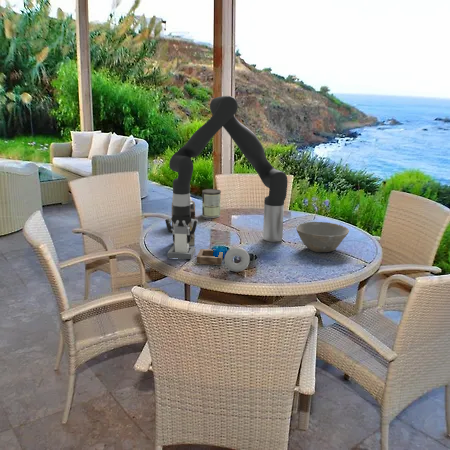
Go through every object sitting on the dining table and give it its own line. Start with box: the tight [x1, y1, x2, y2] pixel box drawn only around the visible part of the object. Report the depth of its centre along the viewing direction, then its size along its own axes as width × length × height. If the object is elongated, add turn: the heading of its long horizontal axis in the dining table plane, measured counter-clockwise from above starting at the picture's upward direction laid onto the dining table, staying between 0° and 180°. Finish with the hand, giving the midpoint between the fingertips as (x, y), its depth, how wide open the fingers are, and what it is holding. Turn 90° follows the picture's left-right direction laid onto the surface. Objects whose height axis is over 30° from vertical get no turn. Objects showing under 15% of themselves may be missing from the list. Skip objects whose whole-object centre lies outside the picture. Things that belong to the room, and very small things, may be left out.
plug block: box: [174, 226, 189, 253], centre depth 211 cm, size 5×5×12 cm
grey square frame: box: [167, 245, 196, 260], centre depth 212 cm, size 10×10×2 cm
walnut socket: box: [196, 248, 224, 266], centre depth 207 cm, size 10×10×3 cm
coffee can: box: [201, 188, 222, 219], centre depth 275 cm, size 10×10×14 cm
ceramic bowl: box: [296, 221, 350, 253], centre depth 222 cm, size 22×23×10 cm
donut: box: [223, 246, 251, 273], centre depth 194 cm, size 10×4×10 cm, turn 91°
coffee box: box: [172, 209, 196, 247], centre depth 225 cm, size 9×6×16 cm
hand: (181, 242), depth 211 cm, fingers closed on plug block, 4 cm apart
